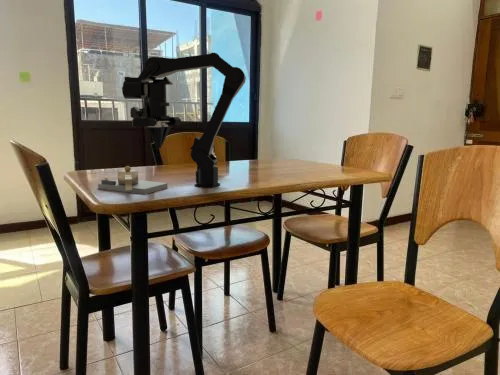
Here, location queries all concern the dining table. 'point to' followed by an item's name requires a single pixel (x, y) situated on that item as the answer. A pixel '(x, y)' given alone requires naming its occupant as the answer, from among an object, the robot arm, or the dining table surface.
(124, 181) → the cream stepped block
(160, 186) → the level stand
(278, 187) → the dining table surface
